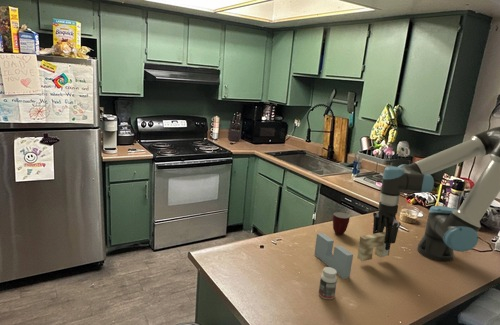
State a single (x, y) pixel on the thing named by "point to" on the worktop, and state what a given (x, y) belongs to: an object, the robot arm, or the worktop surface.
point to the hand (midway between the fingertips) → (381, 253)
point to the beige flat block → (371, 246)
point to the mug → (340, 222)
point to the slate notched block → (333, 255)
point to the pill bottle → (328, 283)
